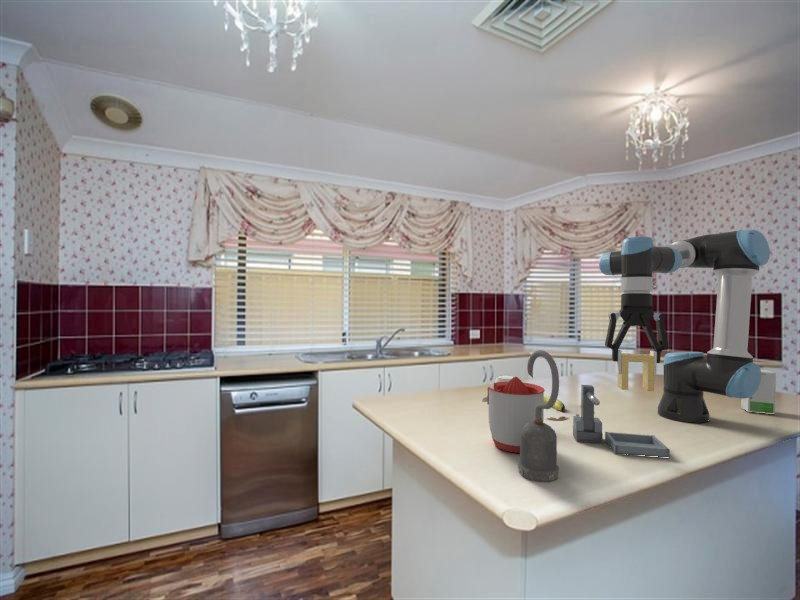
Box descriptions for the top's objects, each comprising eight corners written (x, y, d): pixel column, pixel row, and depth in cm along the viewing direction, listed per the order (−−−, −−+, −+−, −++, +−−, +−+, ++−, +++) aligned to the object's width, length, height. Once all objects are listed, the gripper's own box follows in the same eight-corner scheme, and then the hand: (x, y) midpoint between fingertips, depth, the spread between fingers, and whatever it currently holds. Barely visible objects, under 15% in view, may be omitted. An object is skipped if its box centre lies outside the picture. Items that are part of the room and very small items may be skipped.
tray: (654, 444, 116) (654, 435, 116) (669, 459, 106) (669, 449, 106) (605, 440, 119) (605, 431, 119) (615, 454, 109) (615, 445, 109)
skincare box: (747, 413, 148) (747, 370, 148) (740, 408, 154) (740, 367, 154) (776, 415, 145) (777, 372, 145) (767, 410, 151) (768, 369, 151)
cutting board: (609, 415, 147) (609, 404, 147) (553, 424, 135) (553, 413, 135) (539, 393, 179) (539, 385, 178) (489, 400, 167) (489, 391, 167)
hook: (538, 489, 89) (539, 354, 88) (508, 467, 100) (509, 347, 100) (575, 483, 92) (576, 352, 91) (542, 462, 103) (543, 346, 103)
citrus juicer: (491, 432, 126) (491, 369, 126) (549, 442, 117) (549, 374, 117) (473, 448, 112) (474, 377, 112) (538, 461, 104) (538, 384, 103)
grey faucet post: (597, 436, 122) (597, 384, 122) (610, 455, 108) (610, 396, 108) (572, 434, 124) (573, 383, 124) (582, 452, 110) (582, 394, 110)
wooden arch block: (648, 388, 113) (649, 354, 113) (654, 391, 109) (654, 356, 109) (617, 386, 115) (618, 353, 115) (621, 389, 111) (622, 355, 111)
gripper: (673, 293, 113) (672, 373, 113) (592, 292, 118) (592, 369, 118) (685, 292, 106) (684, 378, 106) (599, 292, 111) (598, 374, 111)
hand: (635, 373), depth 112 cm, fingers closed on wooden arch block, 8 cm apart
